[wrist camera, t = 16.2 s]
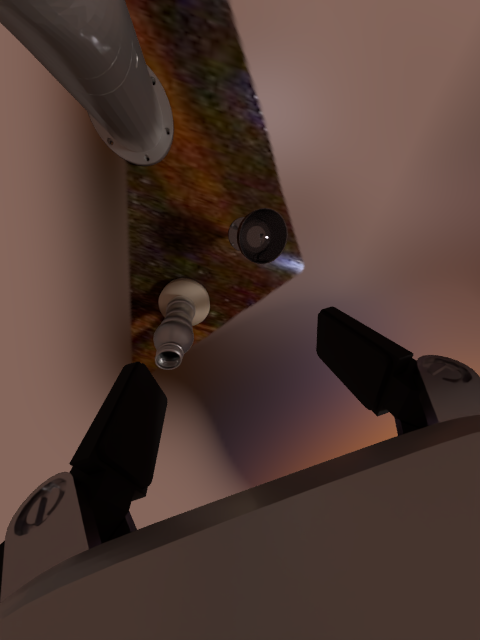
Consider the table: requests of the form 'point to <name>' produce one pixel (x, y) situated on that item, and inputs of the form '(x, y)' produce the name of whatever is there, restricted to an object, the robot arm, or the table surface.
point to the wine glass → (259, 235)
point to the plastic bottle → (175, 333)
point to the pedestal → (190, 290)
